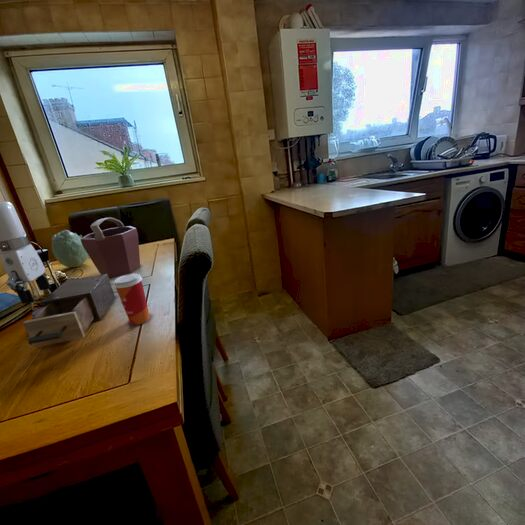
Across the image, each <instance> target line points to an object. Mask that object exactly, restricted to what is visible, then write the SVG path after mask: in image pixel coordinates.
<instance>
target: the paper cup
mask: <svg viewBox="0 0 525 525" xmlns="http://www.w3.org/2000/svg"><path fill="white" fill-rule="evenodd" d="M113 288H115V290H116V292H117V294H118V297H119V299H120V303H121V304H122V308H123V309H124V312H125V314H126V316H127V319H128V321H129V323H130V325H132V326H139V325H142V324H145V323H147V322H148V321H149V320H150V319H151V317H150V311H149V307H148V301H147V298H146V294H145V290H144V284H143V277H142V276H141V275H140V273H128V274H125V275H120V276H118V277H117V278H115V280H114V281H113Z"/></svg>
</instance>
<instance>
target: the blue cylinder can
mask: <svg viewBox="0 0 525 525" xmlns="http://www.w3.org/2000/svg"><path fill="white" fill-rule="evenodd" d="M43 308H44V307H40V308H38V309H36V310H34V311H33V312H32V313H31V315H32V318H33V317H34V316H35V315H36V314H37V313H38V312H39V311H41V310H42V309H43Z"/></svg>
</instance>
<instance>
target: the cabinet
mask: <svg viewBox="0 0 525 525" xmlns="http://www.w3.org/2000/svg"><path fill="white" fill-rule="evenodd" d="M88 295H89V298H90V301H91V303H92V306H93V309H94V311H95V314H96V316H95V318H94V319H93V321H92V322H97V321H101V320H102V318H103V317H104V315H105V314H106V313H107V311H108V309H109V308H110V306H111V305H112V303H113V301H114V300H115V298H116V295H115V291H114V288H113V286H112V283H111V280H110V277H108V274H102V275H101V274H97V275H92V276H91V275H90V276H86V277H80V278H73V279H69V280H65V281H64V282H63V283H62V284H61V285H60V286H58V287H57V288H56V289H55V290H54V291H53V292H51V293H49V295H47V297H45V298H44V299H43V300H41V304H42V306H43V307H45V306H46V305H47V304H48V303H51V302H56V301H61V300H67V299H72V298H77V297H83V296H88ZM43 307H42V308H43Z"/></svg>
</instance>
